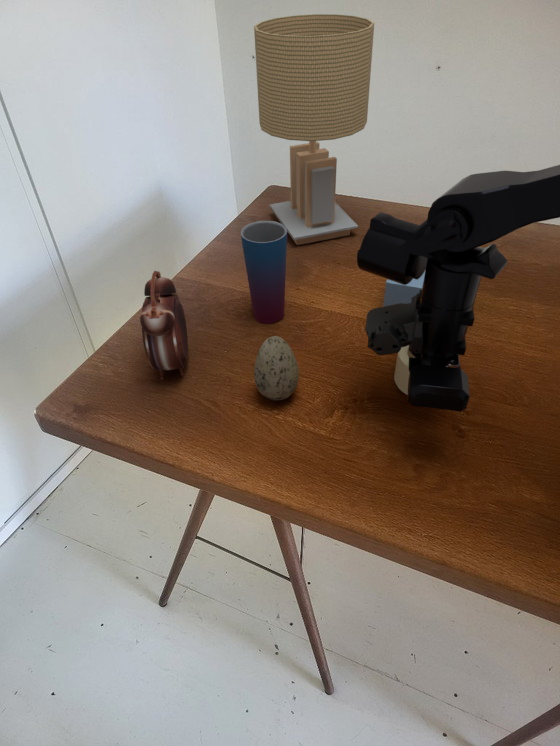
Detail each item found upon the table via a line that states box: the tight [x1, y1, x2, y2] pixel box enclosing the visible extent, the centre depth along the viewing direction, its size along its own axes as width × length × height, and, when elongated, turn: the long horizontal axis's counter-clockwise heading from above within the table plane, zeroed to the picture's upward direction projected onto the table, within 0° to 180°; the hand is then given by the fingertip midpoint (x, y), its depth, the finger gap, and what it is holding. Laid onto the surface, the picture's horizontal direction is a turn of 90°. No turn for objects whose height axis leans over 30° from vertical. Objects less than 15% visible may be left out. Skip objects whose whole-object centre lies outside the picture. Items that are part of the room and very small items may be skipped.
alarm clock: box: [139, 270, 189, 381], centre depth 72 cm, size 11×5×15 cm, turn 5°
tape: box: [393, 345, 415, 396], centre depth 71 cm, size 8×8×5 cm
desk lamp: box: [253, 13, 375, 246], centre depth 96 cm, size 20×20×35 cm
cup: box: [240, 220, 288, 325], centre depth 81 cm, size 7×7×15 cm
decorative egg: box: [253, 335, 300, 401], centre depth 68 cm, size 6×6×10 cm
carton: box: [382, 270, 426, 307], centre depth 82 cm, size 12×12×8 cm
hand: (424, 396), depth 67 cm, fingers closed
